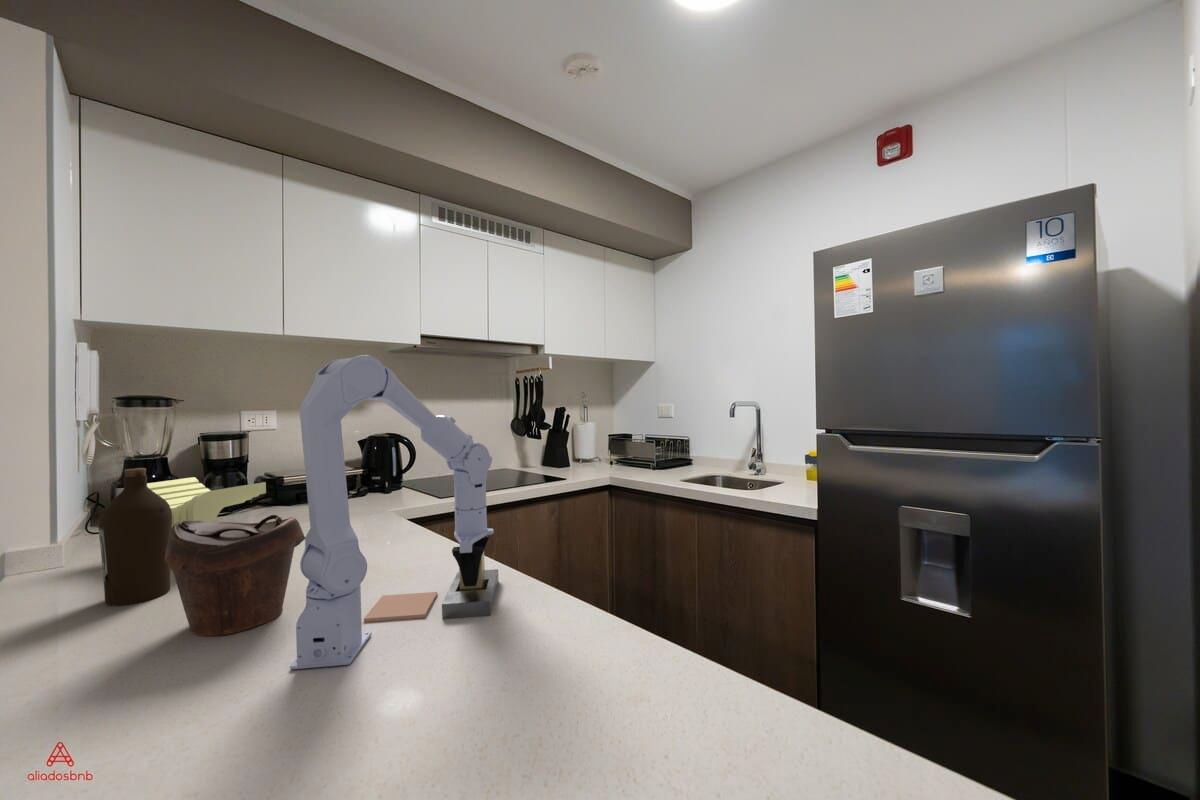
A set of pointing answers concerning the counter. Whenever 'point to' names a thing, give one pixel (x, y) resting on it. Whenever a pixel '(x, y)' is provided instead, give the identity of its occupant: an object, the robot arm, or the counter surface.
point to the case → (232, 571)
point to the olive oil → (135, 542)
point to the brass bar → (480, 581)
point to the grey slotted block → (470, 598)
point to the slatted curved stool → (201, 498)
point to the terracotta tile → (401, 607)
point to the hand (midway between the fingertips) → (472, 580)
